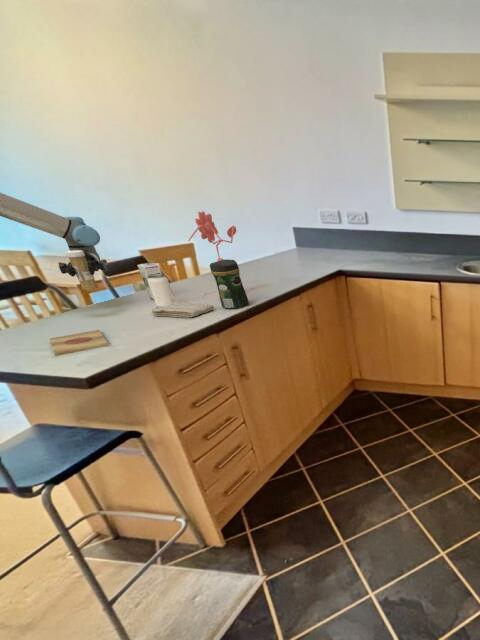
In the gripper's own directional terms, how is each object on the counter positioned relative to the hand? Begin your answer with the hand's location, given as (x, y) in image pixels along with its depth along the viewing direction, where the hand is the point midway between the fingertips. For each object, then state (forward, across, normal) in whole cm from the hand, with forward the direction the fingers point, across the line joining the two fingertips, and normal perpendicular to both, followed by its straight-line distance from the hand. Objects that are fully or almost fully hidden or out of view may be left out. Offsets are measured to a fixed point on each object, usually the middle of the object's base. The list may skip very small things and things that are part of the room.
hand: (81, 271), depth 146 cm
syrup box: (-23, -19, -17) cm, 34 cm away
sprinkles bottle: (-5, 0, -7) cm, 9 cm away
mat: (+28, +5, -17) cm, 33 cm away
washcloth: (+9, -24, -17) cm, 31 cm away
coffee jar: (+10, -42, -17) cm, 46 cm away
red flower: (-13, -41, -17) cm, 47 cm away
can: (-7, -20, -17) cm, 27 cm away
